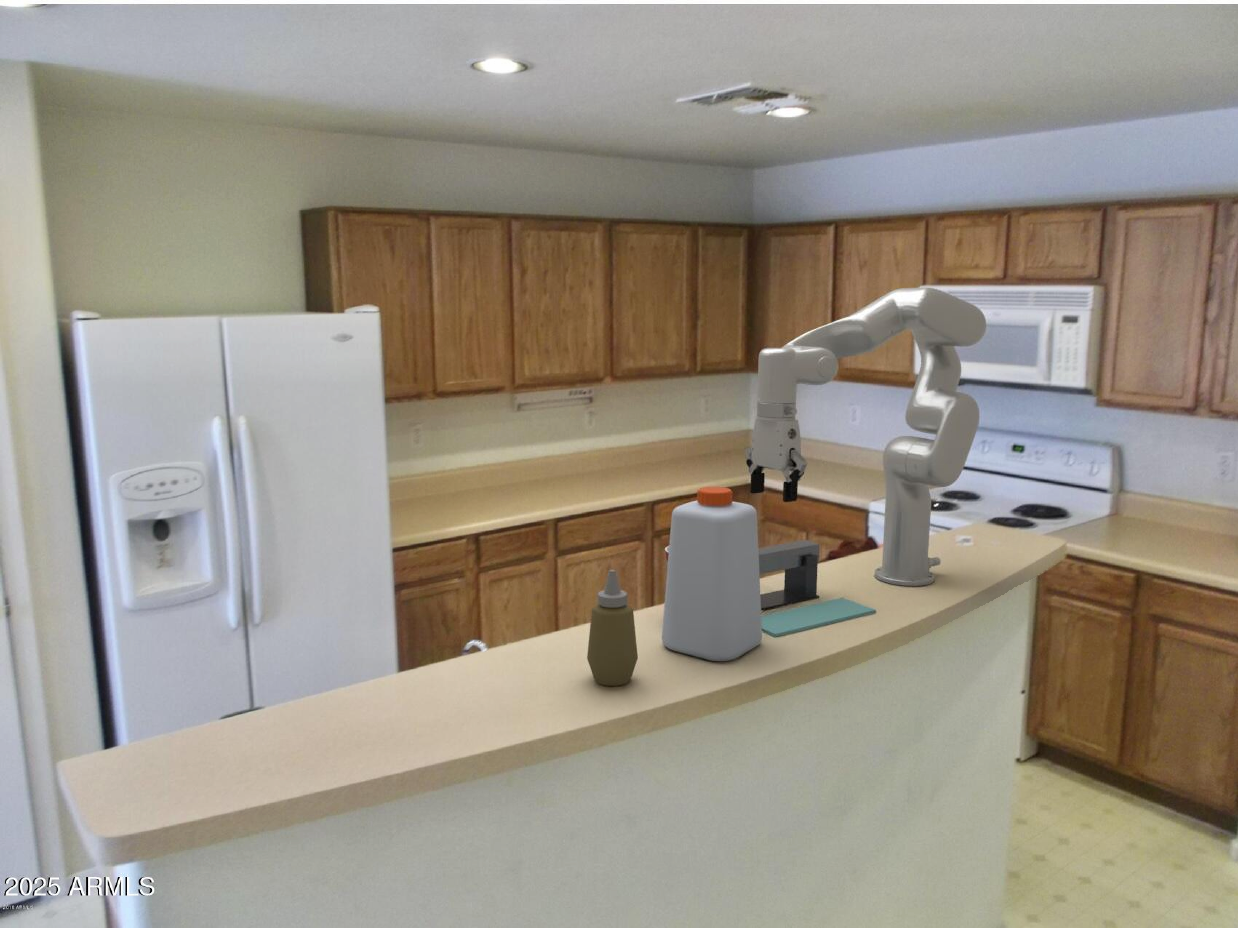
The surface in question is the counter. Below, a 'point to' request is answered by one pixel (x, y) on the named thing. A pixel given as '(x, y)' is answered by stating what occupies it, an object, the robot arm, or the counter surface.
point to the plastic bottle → (713, 578)
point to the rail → (786, 555)
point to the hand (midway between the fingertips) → (773, 496)
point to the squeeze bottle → (612, 636)
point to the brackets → (794, 586)
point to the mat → (812, 616)
